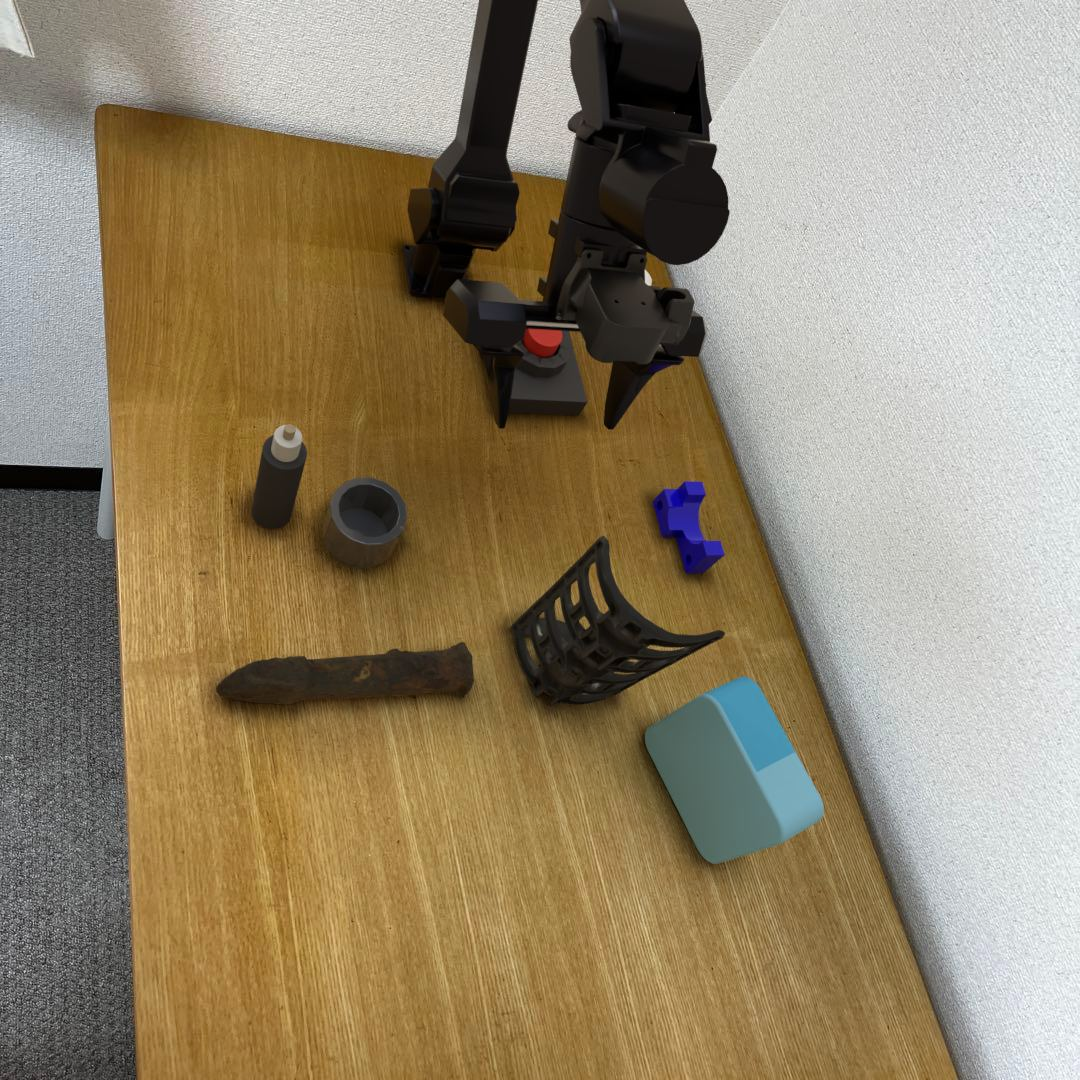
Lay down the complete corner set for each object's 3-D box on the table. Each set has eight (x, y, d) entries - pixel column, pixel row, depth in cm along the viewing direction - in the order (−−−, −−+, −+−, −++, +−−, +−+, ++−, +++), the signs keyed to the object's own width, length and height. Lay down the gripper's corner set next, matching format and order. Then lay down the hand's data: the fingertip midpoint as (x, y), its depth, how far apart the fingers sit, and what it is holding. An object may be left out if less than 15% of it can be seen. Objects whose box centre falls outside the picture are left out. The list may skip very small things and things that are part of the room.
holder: (630, 656, 80) (743, 579, 62) (604, 734, 76) (716, 676, 59) (519, 603, 79) (603, 509, 61) (488, 679, 75) (567, 602, 58)
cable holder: (652, 501, 90) (671, 481, 86) (682, 501, 91) (702, 481, 88) (672, 574, 86) (693, 555, 83) (703, 573, 88) (724, 555, 84)
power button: (519, 327, 89) (525, 315, 88) (552, 329, 90) (558, 318, 89) (526, 356, 88) (532, 345, 86) (559, 358, 89) (566, 347, 88)
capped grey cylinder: (250, 495, 74) (265, 408, 64) (289, 495, 76) (310, 410, 65) (252, 529, 73) (268, 446, 63) (292, 529, 74) (314, 448, 64)
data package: (745, 845, 76) (833, 816, 66) (705, 868, 73) (790, 841, 64) (677, 715, 79) (751, 669, 69) (637, 733, 77) (708, 688, 67)
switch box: (475, 315, 93) (487, 289, 89) (554, 322, 96) (568, 297, 93) (496, 412, 88) (509, 388, 84) (578, 415, 91) (594, 392, 88)
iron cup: (318, 503, 76) (326, 476, 73) (390, 503, 79) (401, 477, 75) (325, 569, 74) (334, 545, 70) (399, 567, 76) (411, 543, 73)
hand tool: (459, 654, 74) (475, 633, 71) (464, 701, 73) (481, 682, 69) (216, 660, 67) (220, 637, 64) (216, 712, 66) (219, 691, 62)
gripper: (516, 240, 51) (474, 480, 59) (779, 267, 59) (710, 476, 67) (457, 191, 59) (427, 407, 67) (694, 221, 67) (642, 411, 75)
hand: (555, 427), depth 69 cm, fingers open, 9 cm apart
